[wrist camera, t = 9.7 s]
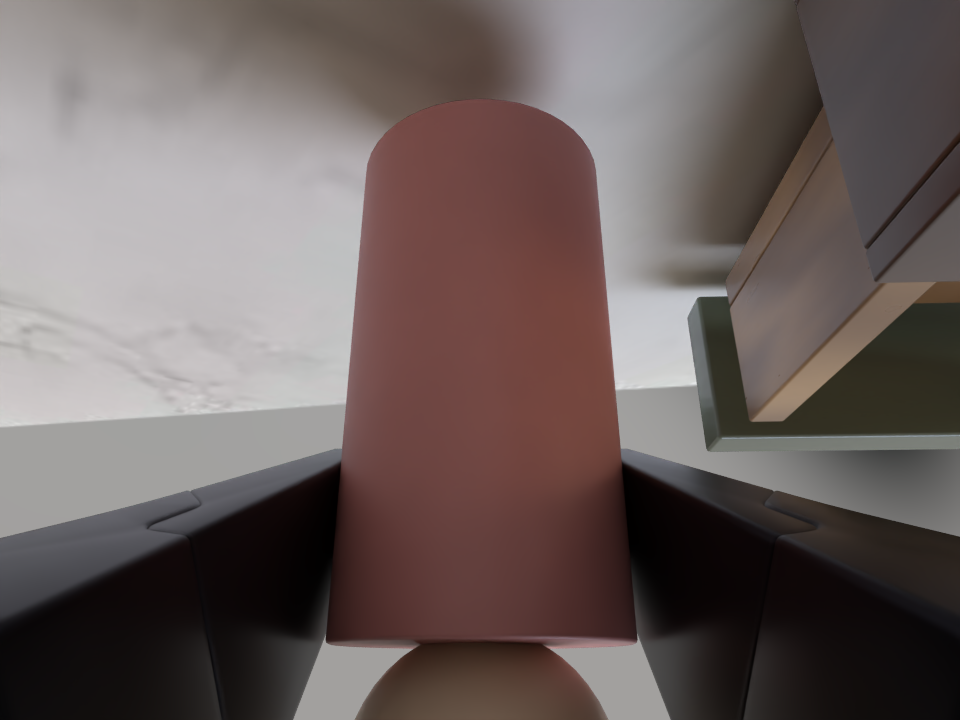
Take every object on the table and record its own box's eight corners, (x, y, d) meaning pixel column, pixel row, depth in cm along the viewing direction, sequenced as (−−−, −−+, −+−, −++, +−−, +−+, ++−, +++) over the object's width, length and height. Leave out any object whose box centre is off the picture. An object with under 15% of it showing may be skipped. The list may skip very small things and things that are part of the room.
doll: (324, 193, 12) (230, 993, 8) (464, 52, 9) (448, 1182, 5) (492, 269, 15) (498, 917, 10) (644, 175, 12) (749, 1014, 7)
